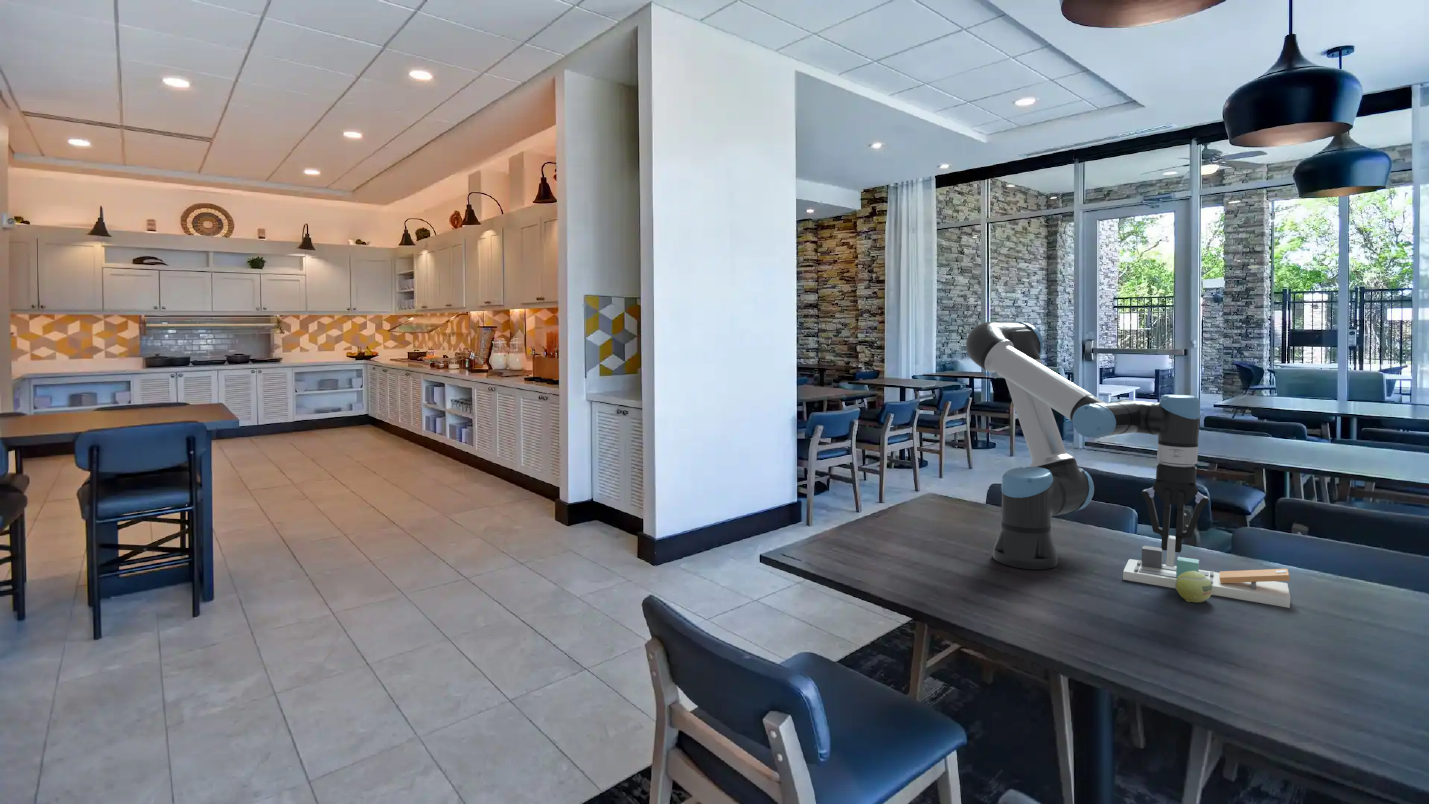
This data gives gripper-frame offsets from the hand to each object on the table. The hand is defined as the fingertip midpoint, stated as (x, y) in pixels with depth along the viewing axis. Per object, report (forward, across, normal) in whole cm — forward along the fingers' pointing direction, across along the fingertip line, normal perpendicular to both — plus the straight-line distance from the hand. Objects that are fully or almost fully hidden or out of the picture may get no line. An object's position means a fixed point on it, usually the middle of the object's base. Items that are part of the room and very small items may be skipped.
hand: (1170, 564), depth 156 cm
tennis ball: (+5, +5, -8) cm, 11 cm away
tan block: (0, +15, +2) cm, 15 cm away
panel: (+4, +6, +3) cm, 8 cm away
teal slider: (+2, +3, 0) cm, 4 cm away
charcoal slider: (+2, -4, +5) cm, 7 cm away
